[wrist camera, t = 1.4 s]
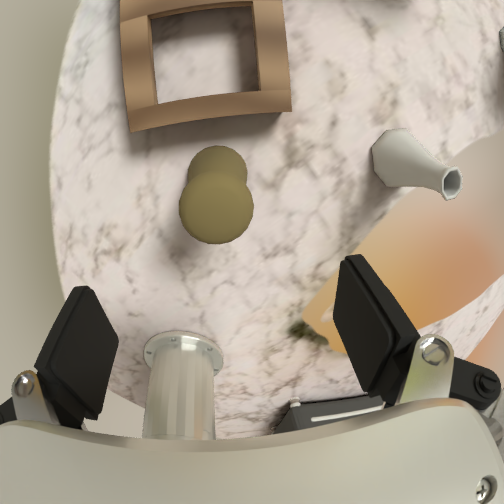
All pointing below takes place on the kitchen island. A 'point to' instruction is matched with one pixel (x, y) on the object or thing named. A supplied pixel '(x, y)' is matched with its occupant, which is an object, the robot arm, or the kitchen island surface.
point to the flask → (413, 165)
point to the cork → (216, 196)
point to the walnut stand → (263, 101)
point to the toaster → (325, 412)
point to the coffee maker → (502, 38)
